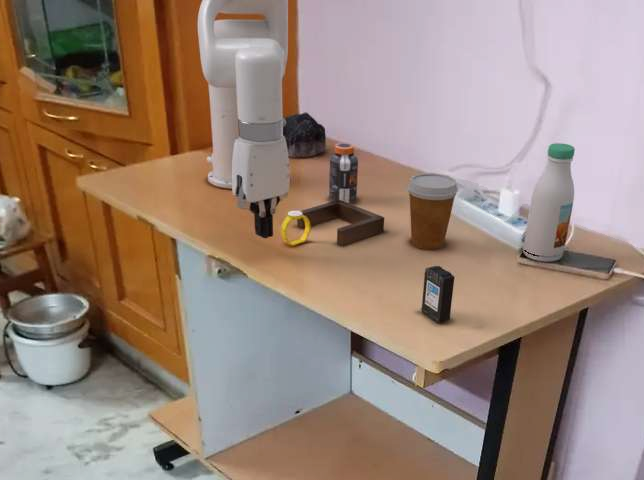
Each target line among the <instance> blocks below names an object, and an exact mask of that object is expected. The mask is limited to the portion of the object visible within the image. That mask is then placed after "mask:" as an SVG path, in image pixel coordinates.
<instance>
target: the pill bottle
mask: <svg viewBox="0 0 644 480" xmlns="http://www.w3.org/2000/svg"><path fill="white" fill-rule="evenodd" d="M354 153H355V146H354V145H353V144H351V143H345V142H340V143H339V142H338V143H336V144H335V145H334V154H333V155H331V156H330V158H329V184H328V199H329V200H330V202H333V201H336V200H341V201H344V202H347V203H349V204H353V203H355V202H356V201H357V199H358V198H357V197H358V174H359V173H358V171H359V169H358V168H359V158H358V157H357V156H356V155H355V154H354Z"/></svg>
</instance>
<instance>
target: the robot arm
mask: <svg viewBox="0 0 644 480" xmlns="http://www.w3.org/2000/svg"><path fill="white" fill-rule="evenodd" d="M219 13H220V14H225V15H262V16H263V17H264V18H265V19H217V20H215V19H216V17H217V15H218V14H219ZM197 36H198V37H197V38H198V47H199V55H200V56H199V57H200V64H201V65H200V66H201V70H202V75H203V77H204V79H205V81H206V83H207V84H208V85H207V86H208V95H209V109H210V110H209V111H210V123H211V125H210V126H211V140H212V141H211V142H212V154H211V156H207V158H206V162H207V163H209V164H211V167H212V170H211V171H209V172H208V174H207V181H208V183H209V184H211V185H212V186H215V187H217V188H221V189H228V190H232V191H231V192H232V196H234V197H236V198H237V204H236V206H237V208H239V209H241V210H249V211H250V213H251V214H254V215H253V216H254V217H253V218H254V233H255V235H257V236H258V237H261V238H263V239H269V238H273V236H274V216H273V215H275V214H276V212H277V207H278V205H279V203H280V202H281V201H283V200H285V199H286V198H288V195H289V190H290V186H291V168H290V159H289V156H288V149H287V144H286V140H285V137H284V136H283V126H285V125H286V120H285V117H283V78H284V77H285V74H286V67H287V62H288V55H289V0H201V3H200V6H199V10H198V15H197Z"/></svg>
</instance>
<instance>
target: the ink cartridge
mask: <svg viewBox="0 0 644 480" xmlns="http://www.w3.org/2000/svg"><path fill="white" fill-rule="evenodd" d="M423 276H424V277H423V290H422V302H421V308H420V310H421V313H422V314H423V315H425V316H427V317H428V318H429V319H431V320H432V321H434V322H435V323H437V324H439V323H442V322H446V321H450V319H451V311H452V303H453V302H452V301H453V294H454V285H455V276H454V275H453V274H452V272H450V271H448V270H447V269H444V268H443V267H442V266H440V265H434V266H429V267H426V268H425V270H424V275H423Z"/></svg>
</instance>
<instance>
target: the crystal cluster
mask: <svg viewBox="0 0 644 480" xmlns="http://www.w3.org/2000/svg"><path fill="white" fill-rule="evenodd" d="M284 119H285V120H286V125H285V126H283V136H284V137H285V140H286V144H287V149H288V157H290V158H294V159H295V158H308V157H309V158H310V157H313V156H316V155H319V154H322V153H325V151H326V147H327V146H326V145H327V141H326V140H327V135H326V128H325V127H324V126H323V124H321V123H319V122H318V121H316V119H315V118H314V117H313V116H311V114H309V113H308V112H306V111H305V112H302V113H295V114H292V115H287V116H286V117H284Z"/></svg>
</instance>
